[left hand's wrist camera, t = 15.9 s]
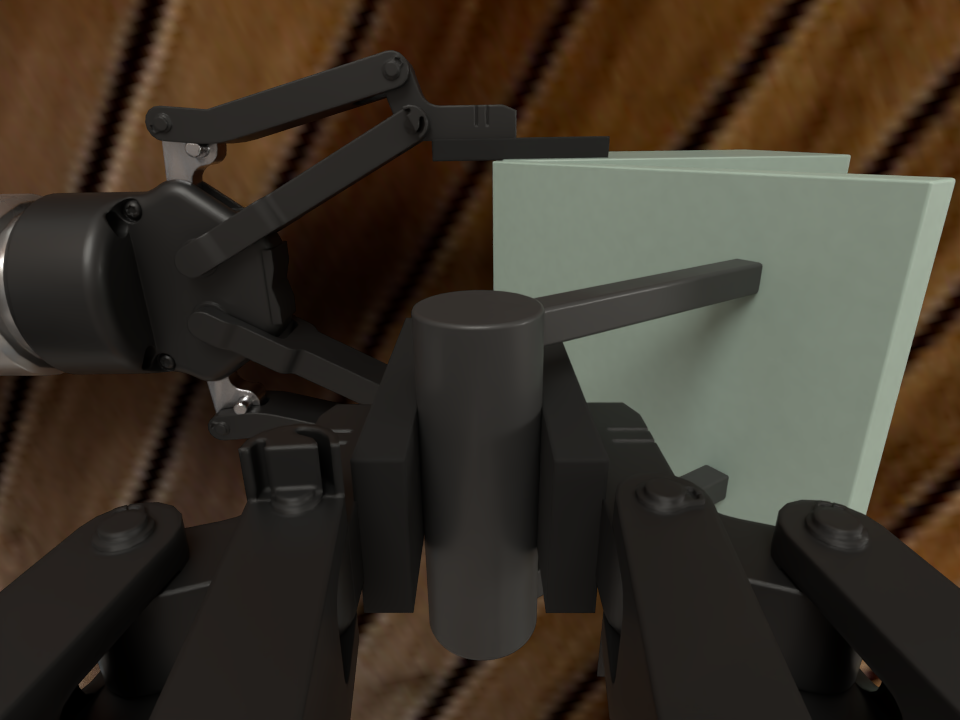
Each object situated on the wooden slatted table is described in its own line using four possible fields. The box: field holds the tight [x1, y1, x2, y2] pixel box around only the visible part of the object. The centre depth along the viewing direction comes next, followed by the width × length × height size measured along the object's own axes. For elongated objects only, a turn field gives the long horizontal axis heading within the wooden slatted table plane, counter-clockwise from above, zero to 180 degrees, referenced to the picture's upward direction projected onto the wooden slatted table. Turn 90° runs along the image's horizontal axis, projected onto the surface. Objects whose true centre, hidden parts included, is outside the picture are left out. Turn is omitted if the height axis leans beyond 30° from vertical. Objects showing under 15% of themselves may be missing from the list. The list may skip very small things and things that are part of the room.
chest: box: [496, 150, 851, 174], centre depth 26 cm, size 12×10×9 cm
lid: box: [411, 160, 955, 660], centre depth 15 cm, size 13×10×9 cm
